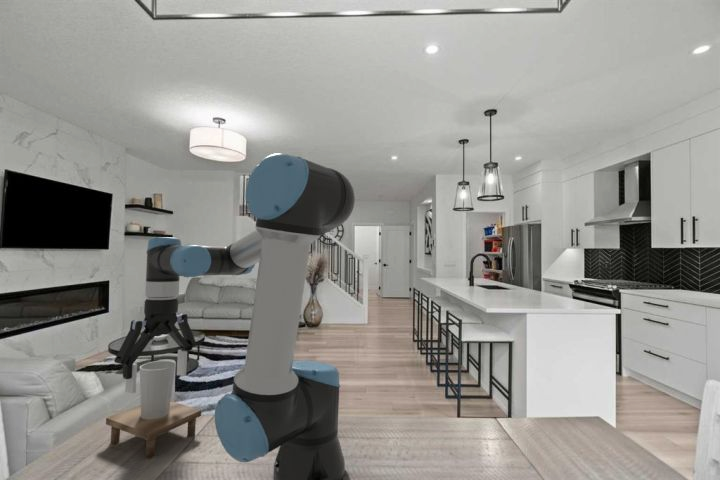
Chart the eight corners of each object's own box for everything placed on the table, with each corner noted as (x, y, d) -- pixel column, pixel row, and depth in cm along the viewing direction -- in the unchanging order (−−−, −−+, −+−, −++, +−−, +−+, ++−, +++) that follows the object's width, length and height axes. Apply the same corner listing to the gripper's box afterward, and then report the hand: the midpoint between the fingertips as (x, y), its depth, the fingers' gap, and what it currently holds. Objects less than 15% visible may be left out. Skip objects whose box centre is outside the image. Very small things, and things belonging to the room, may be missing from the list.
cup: (156, 423, 84) (159, 371, 85) (128, 418, 86) (131, 368, 86) (180, 409, 92) (182, 362, 92) (153, 405, 93) (156, 359, 94)
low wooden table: (200, 433, 91) (201, 409, 92) (147, 461, 79) (149, 433, 79) (158, 419, 98) (160, 397, 98) (104, 443, 86) (106, 417, 86)
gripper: (193, 293, 103) (189, 367, 102) (100, 301, 81) (94, 397, 79) (211, 294, 100) (208, 371, 99) (120, 304, 77) (114, 403, 76)
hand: (157, 383), depth 89 cm, fingers open, 13 cm apart
